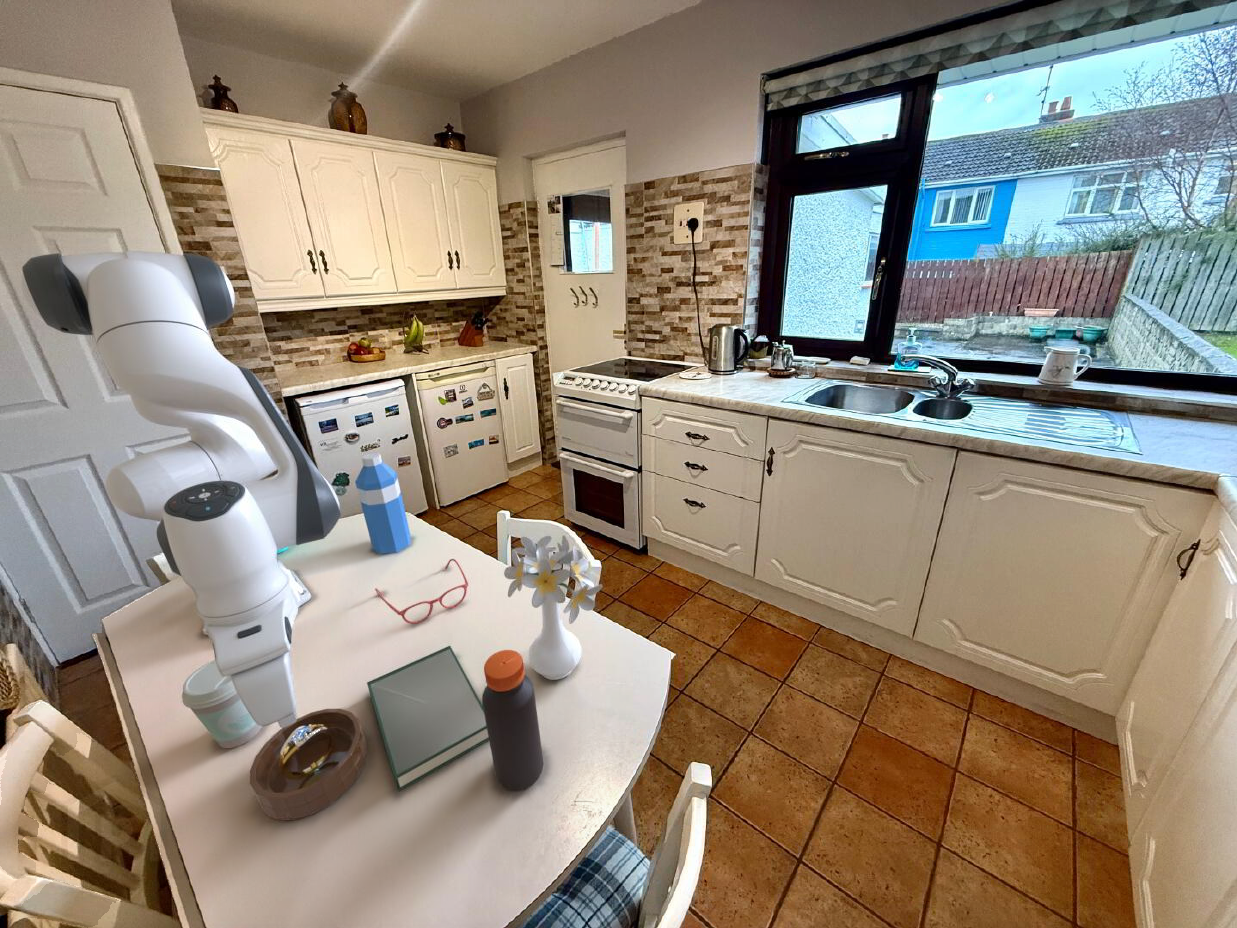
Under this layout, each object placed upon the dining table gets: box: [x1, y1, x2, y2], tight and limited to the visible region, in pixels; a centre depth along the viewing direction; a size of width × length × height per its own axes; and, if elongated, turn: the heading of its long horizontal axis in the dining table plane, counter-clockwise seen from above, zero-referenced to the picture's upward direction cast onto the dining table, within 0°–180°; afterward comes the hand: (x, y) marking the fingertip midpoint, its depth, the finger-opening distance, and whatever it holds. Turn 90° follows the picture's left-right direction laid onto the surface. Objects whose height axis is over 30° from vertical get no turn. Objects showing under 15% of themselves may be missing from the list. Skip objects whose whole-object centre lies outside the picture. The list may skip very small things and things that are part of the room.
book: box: [366, 645, 489, 792], centre depth 78 cm, size 20×14×3 cm
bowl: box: [249, 708, 368, 821], centre depth 69 cm, size 13×13×5 cm
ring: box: [279, 724, 336, 780], centre depth 68 cm, size 7×3×8 cm, turn 139°
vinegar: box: [481, 649, 544, 792], centre depth 66 cm, size 7×7×20 cm
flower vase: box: [503, 535, 603, 681], centre depth 82 cm, size 13×18×25 cm
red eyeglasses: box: [374, 558, 469, 625], centre depth 105 cm, size 17×16×5 cm
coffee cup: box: [181, 659, 263, 749], centre depth 74 cm, size 8×8×12 cm
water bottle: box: [354, 452, 412, 555], centre depth 122 cm, size 9×9×25 cm
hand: (286, 696), depth 64 cm, fingers open, 8 cm apart
